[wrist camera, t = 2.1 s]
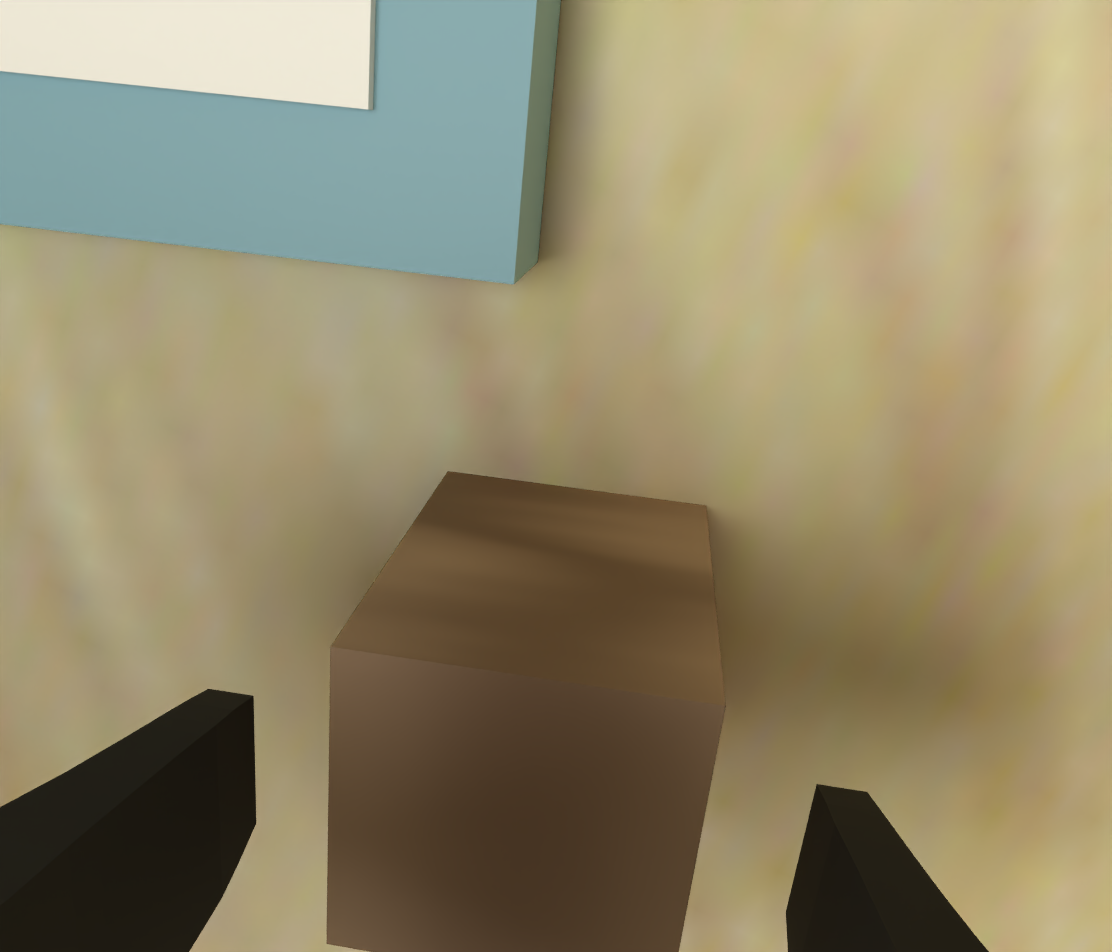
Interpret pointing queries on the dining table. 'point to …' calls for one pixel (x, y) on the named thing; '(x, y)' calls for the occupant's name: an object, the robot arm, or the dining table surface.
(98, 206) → the teal base
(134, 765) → the robot arm
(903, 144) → the dining table surface
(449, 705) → the walnut block
